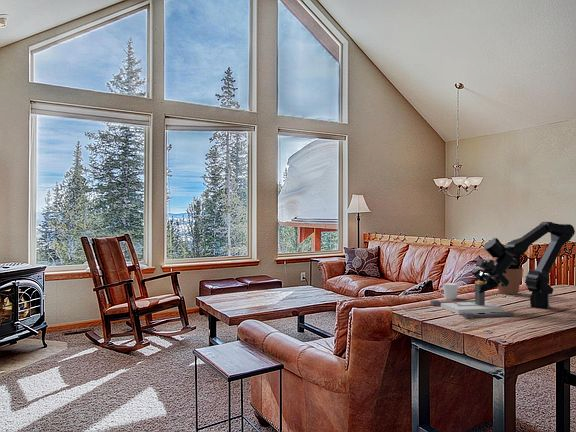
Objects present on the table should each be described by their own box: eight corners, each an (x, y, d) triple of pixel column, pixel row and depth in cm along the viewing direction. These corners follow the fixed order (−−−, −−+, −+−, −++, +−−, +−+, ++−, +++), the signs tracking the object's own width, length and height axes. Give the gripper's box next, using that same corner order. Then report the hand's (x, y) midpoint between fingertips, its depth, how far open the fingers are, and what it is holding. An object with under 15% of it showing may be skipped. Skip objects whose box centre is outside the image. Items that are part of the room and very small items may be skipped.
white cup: (459, 299, 210) (459, 285, 210) (444, 299, 211) (444, 284, 211) (456, 297, 217) (456, 282, 217) (442, 296, 218) (442, 282, 218)
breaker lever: (480, 303, 189) (480, 280, 189) (484, 304, 186) (484, 281, 186) (475, 303, 188) (474, 281, 188) (479, 304, 185) (479, 282, 185)
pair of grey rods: (473, 302, 202) (473, 298, 202) (515, 316, 174) (515, 311, 174) (430, 304, 198) (430, 300, 198) (466, 318, 170) (466, 313, 170)
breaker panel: (482, 305, 195) (482, 301, 195) (503, 312, 181) (503, 307, 181) (440, 307, 191) (440, 302, 191) (458, 314, 178) (458, 309, 178)
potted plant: (490, 290, 235) (489, 243, 235) (517, 291, 233) (516, 243, 233) (498, 295, 221) (498, 245, 221) (527, 295, 219) (527, 245, 219)
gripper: (475, 250, 197) (452, 276, 195) (502, 253, 179) (477, 282, 177) (491, 267, 198) (469, 293, 196) (519, 272, 180) (495, 300, 178)
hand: (477, 291), depth 187 cm, fingers closed on breaker lever, 3 cm apart
